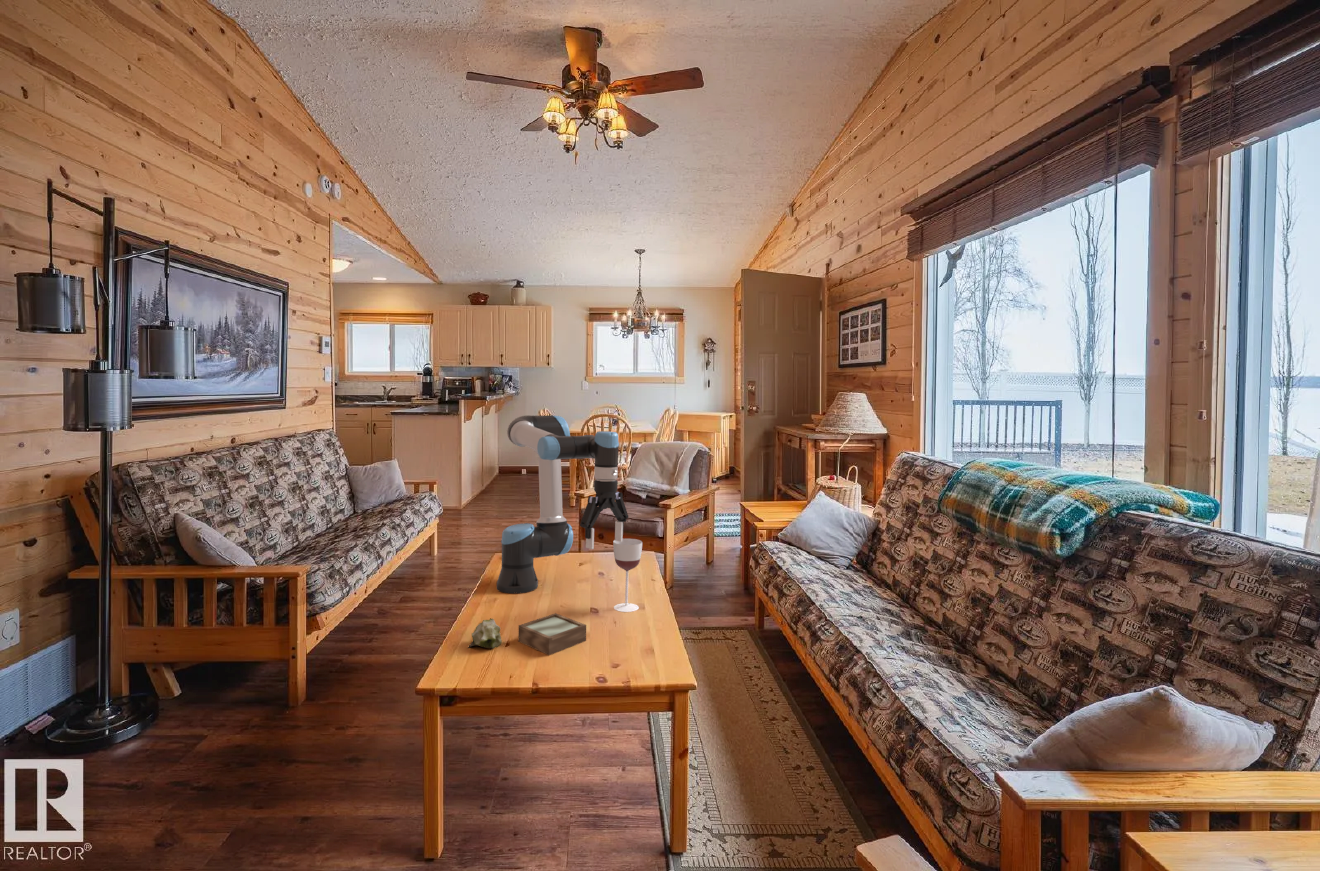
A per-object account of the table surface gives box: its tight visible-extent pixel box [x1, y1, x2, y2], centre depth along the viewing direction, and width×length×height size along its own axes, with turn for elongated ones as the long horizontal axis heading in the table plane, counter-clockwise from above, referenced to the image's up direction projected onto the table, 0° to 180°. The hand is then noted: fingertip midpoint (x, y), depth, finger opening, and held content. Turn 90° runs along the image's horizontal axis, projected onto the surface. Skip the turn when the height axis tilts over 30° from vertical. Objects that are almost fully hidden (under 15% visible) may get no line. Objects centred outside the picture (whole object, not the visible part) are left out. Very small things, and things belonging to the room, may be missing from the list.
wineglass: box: [612, 538, 643, 613], centre depth 209 cm, size 9×10×23 cm
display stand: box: [517, 612, 587, 656], centre depth 179 cm, size 14×14×5 cm
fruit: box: [468, 618, 503, 649], centre depth 175 cm, size 9×9×8 cm
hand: (604, 544), depth 197 cm, fingers open, 13 cm apart
